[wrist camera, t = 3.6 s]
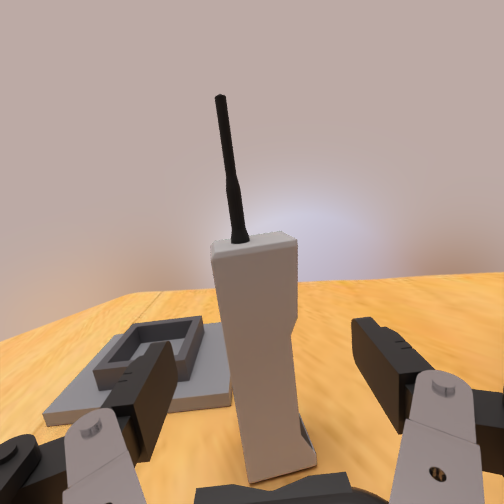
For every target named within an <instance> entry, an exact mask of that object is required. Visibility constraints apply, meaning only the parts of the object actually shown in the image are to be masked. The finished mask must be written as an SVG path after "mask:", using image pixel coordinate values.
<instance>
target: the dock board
mask: <svg viewBox="0 0 504 504" xmlns="http://www.w3.org/2000/svg"><path fill="white" fill-rule="evenodd" d="M162 341H170V342H171V345H172V349H173V353H174V358H175V362H176V367H177V371H178V383H177V387H176V390H175V393H174V395H173V398H172V401H171V404H170V406H169V409H168V412H167V413H172V412H181V411H190V410H199V409H208V408H217V407H226V406H231V397H232V382H231V376H230V370H229V364H228V359H227V353H226V347H225V341H224V335H223V329H222V323H221V322H219V323H210V324H203V321H202V316H194V317H185V318H177V319H169V320H160V321H152V322H144V323H135V324H132V325H131V326H130V328H129V329H128V330H127V331H126V332H125V333H124V334H118V335H114V336H113V338H112V339H111V340H110V341H109V342H108V343H107V344H106V345H105V346H104V347H103V348H102V349H101V351H100V352H99V353H98V354H97V355H96V356H95V357H94V358H93V359H92V360H91V361H90V362H89V364H88V365H87V366H86V367H85V368H84V369H83V370H82V371H81V372H80V373H79V374H78V376H77V377H76V378H75V379H74V380H73V381H72V382H71V383H70V384H69V385H68V386H67V387H66V389H65V390H64V391H63V392H62V393H61V394H60V395H59V396H58V397H57V398H56V399H55V400H54V402H53V403H52V404H51V405H50V406H49V407H48V408H47V409H46V410H45V411H44V412H43V413H42V414H43V417H44V420H45V422H46V425H47V426H55V425H64V424H73V423H75V422H76V421H77V420H78V419H79V418H81V417H82V416H84V415H86V414H87V413H89V412H91V411H94V410H97V409H99V408H100V407H101V405H102V404H103V402H104V401H105V400H106V398H107V397H108V395H109V394H110V392H111V391H112V389H113V388H114V386H115V385H116V383H118V380H119V379H120V377H121V376H122V375H123V373H124V371H125V370H126V368H127V367H128V366H129V364H130V363H131V362H133V361H134V360H135V359H136V358H137V357H139V356H143V355H144V353H145V352H146V350H147V349H148V347H149V345H150V344H151V343H153V342H162Z"/></svg>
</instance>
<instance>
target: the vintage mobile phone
mask: <svg viewBox="0 0 504 504" xmlns="http://www.w3.org/2000/svg"><path fill="white" fill-rule="evenodd" d="M215 103H216V109H217V116H218V123H219V130H220V137H221V144H222V151H223V158H224V165H225V171H226V192H227V199H228V205H229V213H230V220H231V226H232V234H231V239H225V240H219V241H214V242H213V243H212V245H211V247H210V248H211V264H212V270H213V276H214V282H215V288H216V294H217V300H218V306H219V311H220V317H221V323H222V329H223V335H224V341H225V347H226V353H227V359H228V364H229V370H230V376H231V382H232V388H233V394H234V400H235V406H236V411H237V417H238V423H239V429H240V435H241V441H242V447H243V453H244V458H245V464H246V470H247V476H248V482H249V483H255V482H258V481H262V480H266V479H269V478H273V477H277V476H280V475H284V474H288V473H291V472H295V471H299V470H302V469H306V468H310V467H313V466H316V465H317V458H316V452H315V450H314V448H313V445H312V443H311V440H310V438H309V435H308V433H307V431H306V428H305V426H304V423H303V421H302V418H301V416H300V414H299V411H298V401H297V391H296V382H295V372H294V362H293V353H292V343H291V334H292V331H293V328H294V325H295V323H296V320H297V299H298V276H297V275H298V271H297V270H298V268H297V265H298V261H297V260H298V258H297V257H298V254H297V253H298V251H297V249H298V245H297V239H295V238H293V237H291V236H289V235H287V234H285V233H283V232H282V231H277V232H271V233H264V234H258V235H251V236H249V235H248V233H247V230H246V228H245V221H244V213H243V206H242V198H241V191H240V186H239V183H238V179H237V176H236V169H235V161H234V154H233V147H232V140H231V132H230V125H229V117H228V111H227V103H226V96H225V95H221V94H219V95H217V96H216V97H215Z"/></svg>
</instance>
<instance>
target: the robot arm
mask: <svg viewBox="0 0 504 504" xmlns="http://www.w3.org/2000/svg"><path fill="white" fill-rule="evenodd" d="M351 329H352V351H353V357H354V360H355V363H356V365H357V367H358V369H359V370H360V372H361V374H362V375H363V377H364V379H365V380H366V382H367V383H368V385H369V387H370V388H371V390H372V392H373V393H374V395H375V397H376V398H377V400H378V402H379V403H380V405H381V407H382V408H383V410H384V412H385V413H386V415H387V416H388V418H389V420H390V421H391V423H392V425H393V426H394V428H395V430H396V431H397V433H398V435H399V434H403V435H402V440H401V445H400V450H399V455H398V460H397V465H396V470H395V475H394V480H393V485H392V491H391V496H390V501H389V502H388V501H386V500H385V499H383V498H381V497H379V496H377V495H375V494H373V493H371V492H369V491H366V490H363V489H360V488H356V487H351V485H350V482H349V480H348V477H347V474H346V472H339V473H330V474H321V475H312V476H307V477H305V478H303V479H300V480H298V481H295V482H293V483H291V484H288V485H286V486H284V487H281V488H279V489H276V490H274V491H266V490H261V489H255V488H250V487H245V486H239V485H234V484H231V485H222V486H213V487H204V488H196V493H195V499H194V504H485V502H484V490H483V477H482V471H485V472H490V473H495V474H499V475H502V476H503V477H504V388H503V393H499V392H491V391H482V390H475V389H471V388H470V386H469V385H468V384H467V383H466V382H465V381H463V380H462V379H460V378H459V377H457V376H455V375H453V374H450V373H447V372H444V371H439V370H435V369H434V368H433V367H432V366H431V365H430V364H429V363H428V362H427V361H426V360H425V359H424V358H423V357H422V356H421V355H420V354H419V353H418V352H417V351H416V350H415V349H412V346H411V345H410V344H408V343H407V342H406V341H405V340H404V339H403V338H402V337H401V336H400V335H399V334H398V333H397V332H395V331H393V330H391V329H389V328H387V327H380V326H379V325H378V324H377V323H376V322H375V321H374V320H373V318H371V317H363V318H355V319H352V322H351ZM177 383H178V371H177V367H176V362H175V358H174V353H173V349H172V345H171V342H170V341H162V342H153V343H151V344H150V345H149V347H148V349H147V350H146V352H145V353H144V355H143V356H139V357H137V358H136V359H135V360H134V361H133V362H131V363H130V364H129V366H128V367H127V368H126V370H125V371H124V373H123V375H122V376H121V377H120V379H119V380H118V383H116V385H115V386H114V388H113V389H112V391H111V392H110V394H109V395H108V397H107V398H106V400H105V401H104V402H103V404H102V405H101V407H100V408H99V409H97V410H94V411H91V412H89V413H87V414H86V415H84V416H82V417H81V418H79V419H78V420H77V421H76V422H75V423H74V424H73V425H72V426H71V427H70V428H69V429H68V431H67V433H66V435H65V436H64V437H61V438H58V439H56V440H53V441H50V442H47V443H45V444H42V445H39V446H38V444H37V441H36V439H35V437H34V436H33V435H31V434H24V435H20V436H17V437H14V438H12V439H9V440H8V441H6V442H4V443H2V444H0V504H147V503H146V500H145V498H144V495H143V492H142V489H141V486H140V483H139V480H138V477H137V474H136V471H135V469H134V468H135V466H136V464H137V463H141V462H150V459H151V456H152V453H153V451H154V448H155V445H156V442H157V440H158V437H159V434H160V431H161V429H162V426H163V423H164V420H165V417H166V415H167V412H168V409H169V406H170V404H171V401H172V398H173V395H174V393H175V390H176V387H177Z"/></svg>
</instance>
